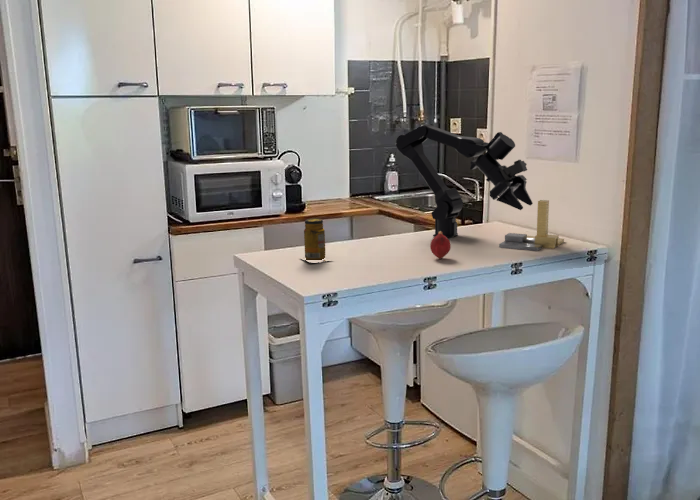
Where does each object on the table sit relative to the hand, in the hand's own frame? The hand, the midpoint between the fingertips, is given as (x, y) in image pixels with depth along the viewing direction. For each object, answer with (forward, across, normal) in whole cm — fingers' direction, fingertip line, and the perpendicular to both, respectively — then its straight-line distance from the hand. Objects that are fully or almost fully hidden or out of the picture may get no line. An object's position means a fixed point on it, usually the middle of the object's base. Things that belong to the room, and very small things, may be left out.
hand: (526, 206), depth 203 cm
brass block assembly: (+11, +3, +6) cm, 13 cm away
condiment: (-26, -45, +42) cm, 67 cm away
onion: (-3, -28, +20) cm, 34 cm away
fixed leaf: (+9, -2, +8) cm, 12 cm away
